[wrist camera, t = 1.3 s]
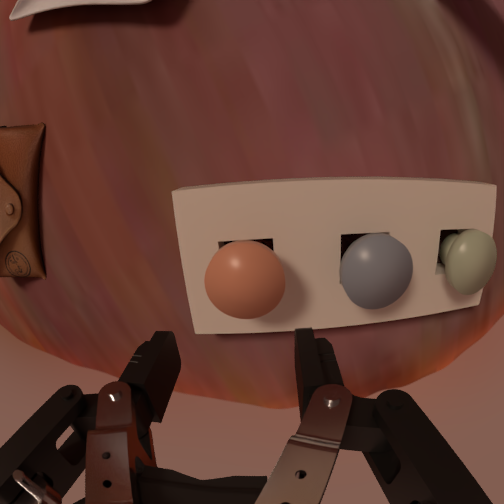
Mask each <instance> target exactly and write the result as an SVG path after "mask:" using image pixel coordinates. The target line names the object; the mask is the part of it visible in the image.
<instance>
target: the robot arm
mask: <svg viewBox="0 0 504 504" xmlns="http://www.w3.org/2000/svg"><path fill="white" fill-rule="evenodd" d="M180 369H181V359H180V355H179V351H178V347H177V343H176V340H175V336H174V333H173V332H172V331H156V332H155V333H154V335H153V336H152V338H151V340H150V341H145V342H144V343H143V344H142V345H140V346H139V347H138V348H137V350H136V352H135V353H134V356H132V358H131V360H130V362H129V363H128V365H127V366H126V368H125V370H124V371H123V373H122V375H121V377H120V378H119V380H118V381H115V382H111V383H108V384H106V385H105V386H104V387H102V389H101V390H100V392H99V393H98V394H86V395H84V394H83V393H82V391H81V389H80V388H79V387H78V386H76V385H67V386H64V387H62V388H60V389H59V390H58V391H57V392H56V393H55V394H53V395H52V396H51V398H49V399H48V401H46V402H45V403H44V404H43V405H42V406H41V407H40V408H39V409H38V410H37V411H36V412H35V413H34V414H33V415H32V416H31V417H30V418H29V419H28V420H27V421H26V422H25V423H24V424H23V425H22V426H21V427H20V428H19V429H18V431H16V433H15V434H14V435H13V436H12V437H11V438H10V439H9V440H8V441H7V442H6V443H5V444H4V445H3V446H2V447H1V448H0V504H62V498H63V497H64V495H65V494H66V493H67V491H68V490H69V489H70V488H71V486H72V485H73V484H74V482H75V481H76V480H77V478H78V477H79V476H80V474H81V473H82V472H83V471H84V469H85V498H83V499H81V500H79V501H77V502H75V503H73V504H320V503H321V500H322V498H323V495H324V492H325V490H326V487H327V485H328V482H329V479H330V476H331V473H332V470H333V468H334V465H335V462H336V459H337V456H338V453H339V449H345V450H354V451H362V453H363V454H364V456H365V458H366V460H367V462H368V464H369V465H370V468H371V469H372V471H373V473H374V475H375V477H376V479H377V481H378V482H379V484H380V486H381V488H382V490H383V492H384V494H385V495H386V497H387V499H388V501H389V503H390V504H493V503H492V502H491V501H490V499H489V498H488V496H487V495H486V494H485V492H484V491H483V489H482V488H481V487H480V485H479V484H478V483H477V481H476V480H475V479H474V477H473V476H472V474H471V473H470V472H469V470H468V469H467V468H466V466H465V465H464V464H463V462H462V461H461V460H460V459H459V457H458V456H457V454H456V453H455V452H454V451H453V449H452V448H451V447H450V445H449V444H448V443H447V441H446V440H445V439H444V438H443V436H442V435H441V434H440V432H439V431H438V430H437V429H436V427H435V426H434V425H433V423H432V422H431V421H430V420H429V419H428V417H427V416H426V415H425V413H424V412H423V411H422V410H421V408H420V407H419V406H418V405H417V403H416V402H415V401H414V400H413V399H412V397H411V396H410V395H409V394H408V393H406V392H404V391H401V390H396V389H392V390H387V391H384V392H382V393H381V394H380V395H379V396H378V397H377V399H369V398H360V397H357V396H354V395H352V394H351V392H350V391H349V390H348V389H347V388H346V387H344V384H343V380H342V377H341V374H340V370H339V367H338V363H337V361H336V357H335V354H334V350H333V347H332V344H331V343H330V342H329V341H328V340H327V339H325V338H316V339H315V338H314V333H313V329H312V327H310V328H296V329H295V372H296V381H297V390H298V399H299V409H300V418H301V424H300V426H299V428H298V430H297V432H296V434H295V436H291V437H290V439H289V440H288V442H287V444H286V446H285V448H284V450H283V452H282V454H281V456H280V458H279V460H278V462H277V464H276V466H275V468H274V470H273V472H272V473H271V475H270V477H269V479H268V481H267V476H231V477H224V478H217V479H209V480H199V479H196V478H193V477H190V476H187V475H184V474H182V473H179V472H176V471H174V470H169V469H163V468H158V467H157V464H156V458H155V452H154V445H153V438H152V431H151V429H150V425H151V422H159V423H161V422H162V419H163V416H164V413H165V411H166V408H167V405H168V402H169V399H170V397H171V394H172V391H173V389H174V386H175V383H176V380H177V378H178V375H179V372H180ZM69 426H71V427H72V429H73V430H74V432H73V433H72V434H71V435H70V436H69V438H68V439H67V440H66V441H65V442H64V444H63V445H62V446H61V447H60V448H59V449H58V450H57V448H56V441H57V439H58V438H59V437H60V436H61V435H62V433H63V432H64V431H65V430H66V429H67V428H68V427H69Z"/></svg>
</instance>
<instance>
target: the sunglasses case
mask: <svg viewBox="0 0 504 504" xmlns="http://www.w3.org/2000/svg"><path fill="white" fill-rule="evenodd" d="M44 131H45V124H44V123H40V124H37V125H22V126H13V127H6V126H0V277H38V278H44V279H46V272H45V267H44V263H43V258H42V252H41V244H40V234H39V216H38V186H39V185H38V184H39V163H40V155H41V148H42V141H43V138H44Z"/></svg>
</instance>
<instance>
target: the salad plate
mask: <svg viewBox="0 0 504 504" xmlns="http://www.w3.org/2000/svg"><path fill="white" fill-rule="evenodd" d="M150 1H152V0H18V2H17V3H16V5H15V7H14V9H13V11H12V13H11V15H10V18H9V19H10V20H11V21H13V20H17V19H20V18H24V17H27V16H30V15H33V14H36V13H40V12H44V11H48V10H53V9H58V8H64V7H71V6H80V5H140V4H146V3H148V2H150Z"/></svg>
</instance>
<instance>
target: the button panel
mask: <svg viewBox="0 0 504 504" xmlns="http://www.w3.org/2000/svg"><path fill="white" fill-rule="evenodd" d="M172 197H173V205H174V213H175V220H176V228H177V235H178V241H179V248H180V254H181V260H182V266H183V272H184V278H185V284H186V289H187V295H188V300H189V305H190V310H191V315H192V320H193V325H194V330H195V334H231V333H261V332H281V331H295V329H296V328H310V327H312V329H322V328H333V327H343V326H352V325H361V324H369V323H377V322H385V321H392V320H399V319H405V318H412V317H418V316H424V315H430V314H435V313H441V312H446V311H451V310H456V309H461V308H466V307H471V306H475V305H479V302H480V298H481V294H482V290H483V288H482V289H481V290H479V291H478V292H476V293H474V294H472V295H463V294H461V293H459V292H458V291H457V290H456V289H455V288H454V287H452V286H451V285H450V284H449V282H448V281H447V278H446V274H445V264H443V263H437V258H438V250H439V241H440V231H441V230H450V229H458V230H457V234H459V235H460V234H461V233H462V232H464V231H465V230H468V229H478V230H480V231H482V232H484V233H486V234H488V235H489V236H491V237H492V235H493V227H494V217H495V205H496V185H492V184H488V183H483V182H476V181H464V180H450V179H432V178H408V177H319V178H293V179H274V180H259V181H245V182H233V183H221V184H211V185H201V186H192V187H183V188H179V189H177V190H174V191H172ZM359 233H385V234H388V235H390V236H392V237H394V238H395V239H397V240H398V241H400V242H401V243H402V244H404V245H405V247H406V248H407V249H408V250H409V252H410V254H411V257H412V261H413V274H412V278H411V281H410V283H409V286H408V287H407V289H406V291H405V292H404V293H403V295H402V296H401V297H400V298H399V299H398V300H396V301H395V302H394V303H392V304H390V305H388V306H386V307H384V308H380V309H365V308H362V307H359V306H357V305H356V304H354V303H353V302H352V301H351V300H350V299H349V297H348V296H347V294H346V292H345V290H344V288H343V286H342V284H341V281H340V276H339V269H340V259H341V234H359ZM268 238H273V250H274V252H275V253H276V255H277V256H278V257H279V259H280V261H281V263H282V265H283V269H284V275H285V291H284V294H283V297H282V299H281V301H280V302H279V304H278V305H277V306H276V307H275V308H274V309H273V310H272V311H271V312H269V313H268V314H266V315H264V316H261V317H258V318H254V319H238V318H234V317H231V316H228V315H226V314H224V313H223V312H221V311H220V310H219V309H217V308H216V307H215V306H214V305H213V304H212V302H211V301H210V299H209V297H208V296H207V293H206V290H205V284H204V278H205V272H206V269H207V267H208V265H209V263H210V261H211V259H212V257H213V256H214V254H215V253H216V252H217V251H218V250H219V249H220V248H222V247H223V246H224V241H236V240H251V239H268Z"/></svg>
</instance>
